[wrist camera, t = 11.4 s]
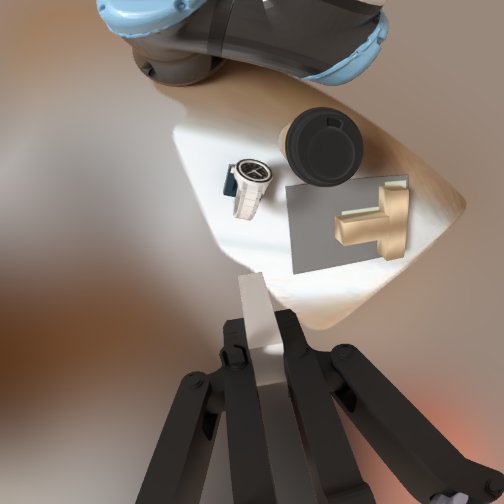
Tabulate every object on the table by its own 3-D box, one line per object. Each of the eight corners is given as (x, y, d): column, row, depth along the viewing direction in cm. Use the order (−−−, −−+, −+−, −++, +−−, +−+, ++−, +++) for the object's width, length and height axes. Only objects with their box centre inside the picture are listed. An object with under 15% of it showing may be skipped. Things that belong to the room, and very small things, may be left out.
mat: (285, 186, 44) (285, 187, 44) (407, 174, 45) (408, 175, 45) (293, 273, 51) (293, 274, 50) (403, 251, 52) (403, 252, 52)
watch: (266, 159, 42) (281, 168, 32) (254, 208, 45) (265, 231, 35) (231, 151, 41) (235, 157, 31) (220, 201, 44) (220, 222, 34)
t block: (333, 190, 45) (343, 195, 41) (396, 184, 45) (408, 189, 42) (335, 259, 50) (343, 269, 47) (393, 248, 51) (403, 257, 47)
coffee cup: (312, 106, 39) (354, 96, 25) (331, 159, 43) (378, 174, 29) (256, 125, 40) (275, 121, 26) (279, 179, 44) (306, 203, 30)
